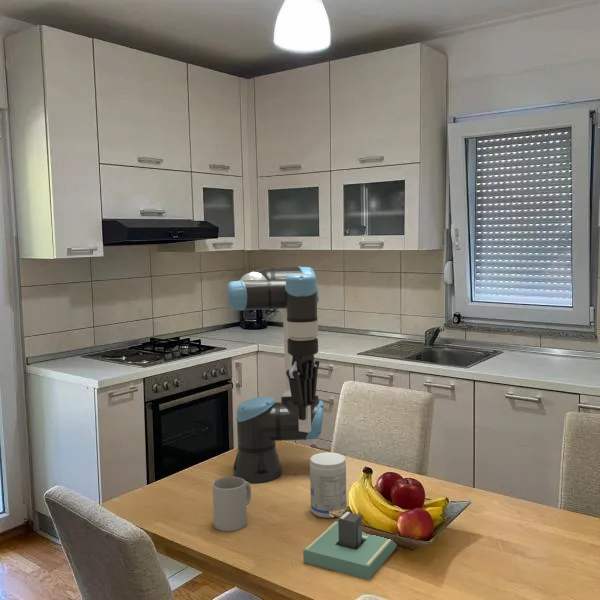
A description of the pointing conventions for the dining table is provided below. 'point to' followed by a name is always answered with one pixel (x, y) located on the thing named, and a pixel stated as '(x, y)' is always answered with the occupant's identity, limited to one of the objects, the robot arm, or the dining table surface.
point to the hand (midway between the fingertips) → (305, 430)
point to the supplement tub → (327, 483)
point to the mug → (230, 503)
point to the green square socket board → (348, 553)
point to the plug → (350, 530)
